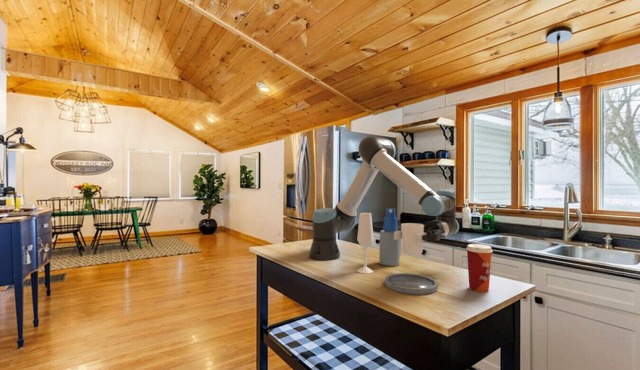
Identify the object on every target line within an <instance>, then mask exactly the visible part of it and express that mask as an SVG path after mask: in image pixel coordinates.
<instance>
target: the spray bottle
mask: <svg viewBox="0 0 640 370" xmlns="http://www.w3.org/2000/svg"><path fill="white" fill-rule="evenodd" d="M396 215H397V214H396V208H393V207H392V208H391V207H390V208H389V207H386V213H385V217H383V229H382V230H380V232H379V258H378V259H379V260H378V263H379V264H380V265H383V266H391V267H395V266H399V265H400V258H401V257H400V256H401V255H400V254H401V253H400V252H401V239H397V240H394V232H396V231H398V217H397V216H396Z"/></svg>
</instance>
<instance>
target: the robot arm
mask: <svg viewBox="0 0 640 370" xmlns="http://www.w3.org/2000/svg"><path fill="white" fill-rule="evenodd" d="M396 153H397V151H396V145H395V144H394V143H393V141H391V140H390V139H387V138H385V137H379V136H374V135H369V136H366V137H364V138H363V139H362V140H361V141H360V142H359V144H358V155H359V157H360V158H361V161H362V164H361V166H360V168H359V170H358V171H357V173H356V175H355V176H354V178H353V180H352V182H351V184H350V186H349V187H348V189H347V192H346V193H345V195H344V197H343V199H342V200H341V201H340V202H337V203H336V205H335V206H334V208H333V207H325V208H318V209H315V210H314V211H313V213H312V219H311V220H312V243H311V246H310V249H309V252H308V257H309V259H313V260H316V261H331V260H332V261H333V260H338V259H339V258H340V257H341V252H340V248H339V245H338V242H337V234H339V233H344V232H348V231H350V230H351V229H353V228H354V227H355V225H356V222H357V218H356V217H357V216H358V215H357V214H358V212H357V209H358V208H359V206H360V204H361V202H362V200H363V199H364V197H365V196H366V193H367V192H368V190H369V188H370V187H371V185H372V183H373V182H374V180H375V178H376V176H377V174H379V172H381V173H382V174H383V175H384V176H385V177H386V178H387V179H388V180H390V181H391V182H392V183H393V184H395V186H397V187H398V188H399V189H401V190H402V191H403V192H404V193H405V194H406V195H408V196H409V197H410V198H411V199H412V200H413V201H414V202H416V204H418V205H420V207H421V209H422V210H421V211H422V212H424V214H426V215H427V216H430V217H435V218H436V219H435V220H431V221H426V222H425V223H424V224H423V225H424V233H421V234H417V235H415V243H419V242H423V243H424V242H425V241H433V242H436V241H440V239H444V238H447V237H452V236H454V235H455V234H457V232H459V229H460V224H459V222H458V220H457V219H456V218H457V217H456V200H457V198H456V191H455V190H453V189H450V190H448V189H444V190H443V189H440V190H439V189H438V190H436V192H435V191H434V190H433V189H432V188H430V187H429V186H428V185H427V184H426V183H424V182H423V181H422V180H420V179H419V178H418V177H417V176H416V175H414V174H413V173H412V172H410V171H409V170H408V169H407V168H405V166H403V165H402V164H401V163H400V162H398V161H397V160H396V159H395V157H396ZM397 239H400V240H402V234H401V228H397V231H396V232H394V240H397Z"/></svg>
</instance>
